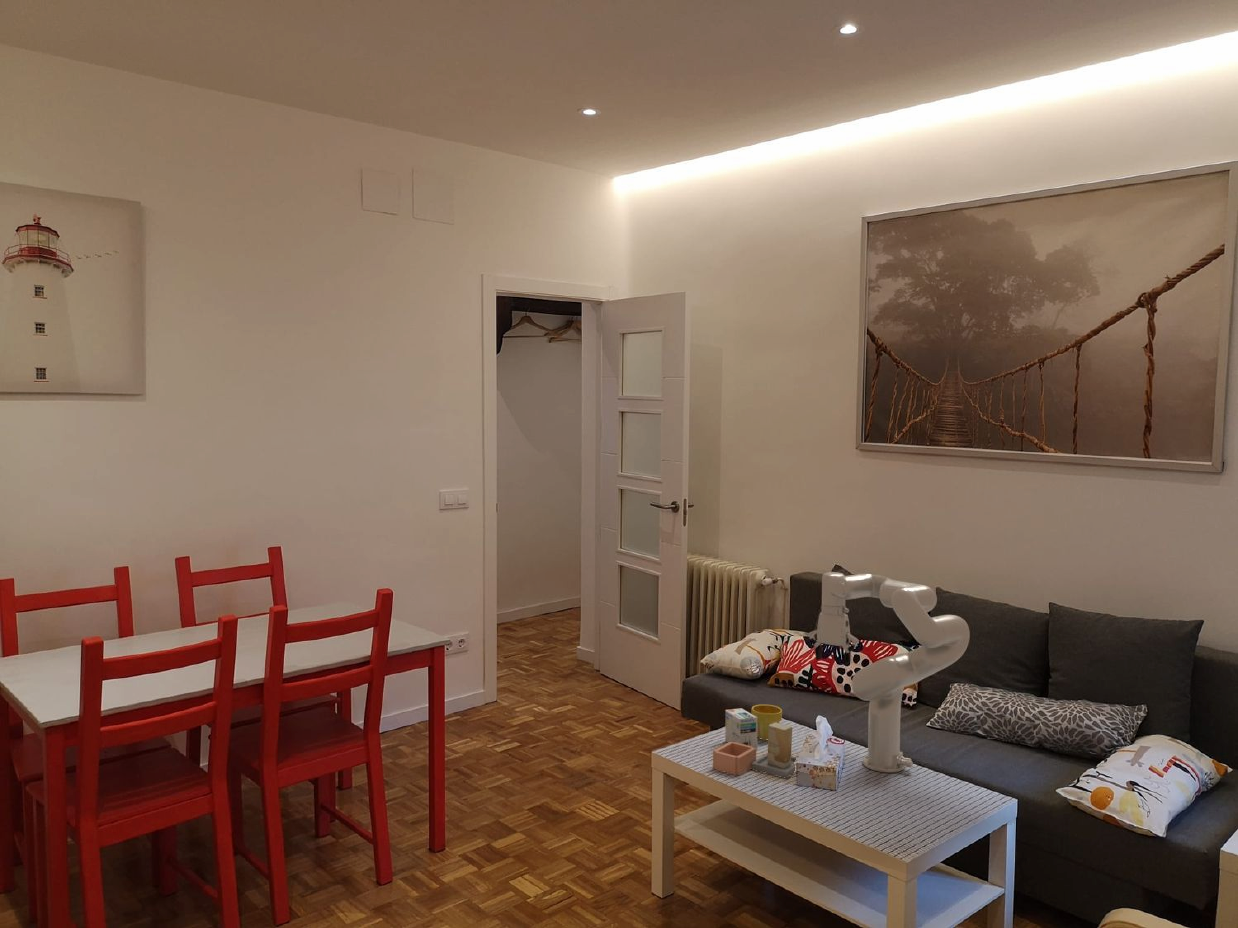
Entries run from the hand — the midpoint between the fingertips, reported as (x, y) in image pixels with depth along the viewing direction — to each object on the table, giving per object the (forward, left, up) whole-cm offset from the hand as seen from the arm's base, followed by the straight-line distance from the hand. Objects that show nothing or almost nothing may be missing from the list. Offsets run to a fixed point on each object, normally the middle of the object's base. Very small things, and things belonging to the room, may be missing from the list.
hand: (832, 661), depth 291 cm
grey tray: (+5, +28, -28) cm, 40 cm away
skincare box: (+5, +28, -28) cm, 39 cm away
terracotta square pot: (+16, +36, -28) cm, 49 cm away
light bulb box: (+24, +18, -29) cm, 41 cm away
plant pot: (+21, +6, -28) cm, 36 cm away
